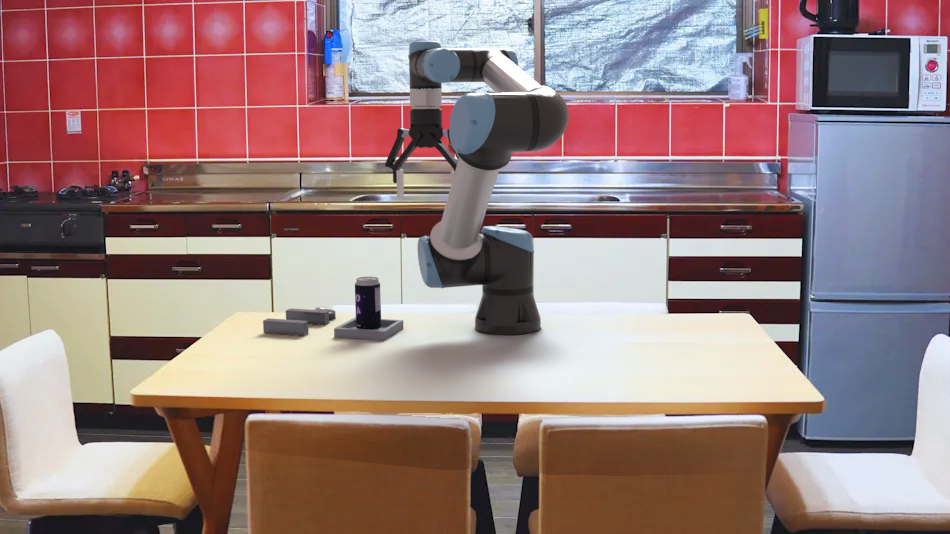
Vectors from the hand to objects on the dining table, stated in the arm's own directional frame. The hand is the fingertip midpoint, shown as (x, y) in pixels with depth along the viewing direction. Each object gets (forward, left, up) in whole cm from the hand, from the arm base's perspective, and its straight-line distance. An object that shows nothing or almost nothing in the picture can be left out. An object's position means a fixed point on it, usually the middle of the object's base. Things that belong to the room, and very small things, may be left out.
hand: (427, 197), depth 263 cm
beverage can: (+7, +21, -28) cm, 36 cm away
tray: (+7, +21, -29) cm, 36 cm away
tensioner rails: (+25, +17, -29) cm, 42 cm away
